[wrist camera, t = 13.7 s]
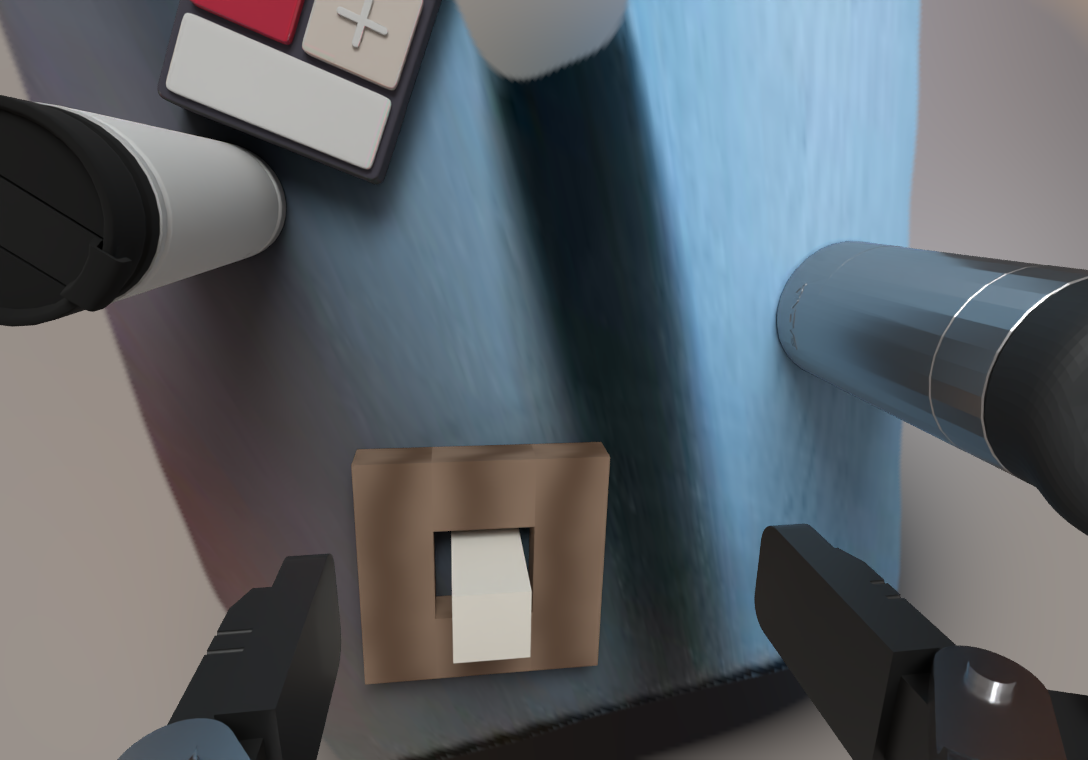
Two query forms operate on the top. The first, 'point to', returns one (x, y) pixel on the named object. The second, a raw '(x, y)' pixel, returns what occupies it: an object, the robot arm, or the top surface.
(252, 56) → the calculator
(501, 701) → the top surface
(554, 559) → the socket base
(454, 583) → the peg
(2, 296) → the travel mug
